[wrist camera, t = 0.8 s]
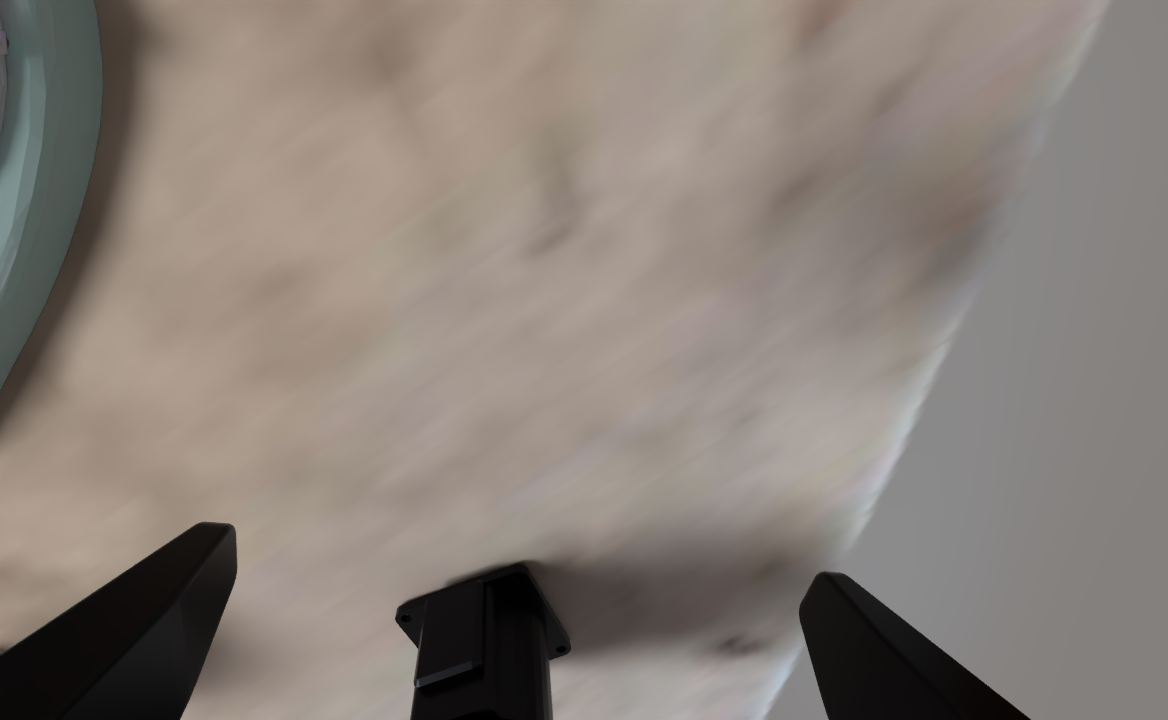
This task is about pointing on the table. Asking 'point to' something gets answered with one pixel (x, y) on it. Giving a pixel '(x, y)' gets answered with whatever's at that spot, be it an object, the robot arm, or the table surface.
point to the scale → (42, 150)
